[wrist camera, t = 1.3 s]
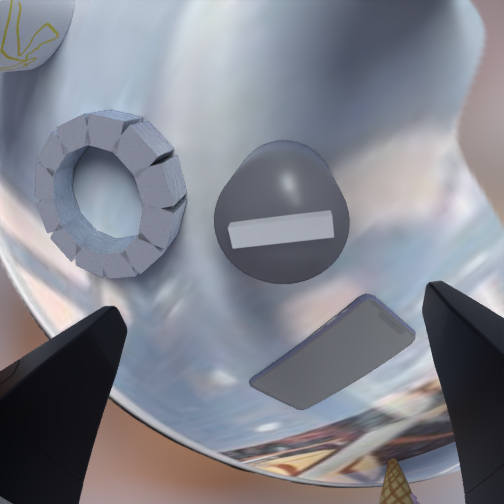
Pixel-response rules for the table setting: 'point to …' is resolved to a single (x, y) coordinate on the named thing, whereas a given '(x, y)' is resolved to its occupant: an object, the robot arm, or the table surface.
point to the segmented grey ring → (147, 179)
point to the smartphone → (336, 354)
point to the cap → (282, 215)
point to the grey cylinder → (31, 31)
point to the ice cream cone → (396, 486)
